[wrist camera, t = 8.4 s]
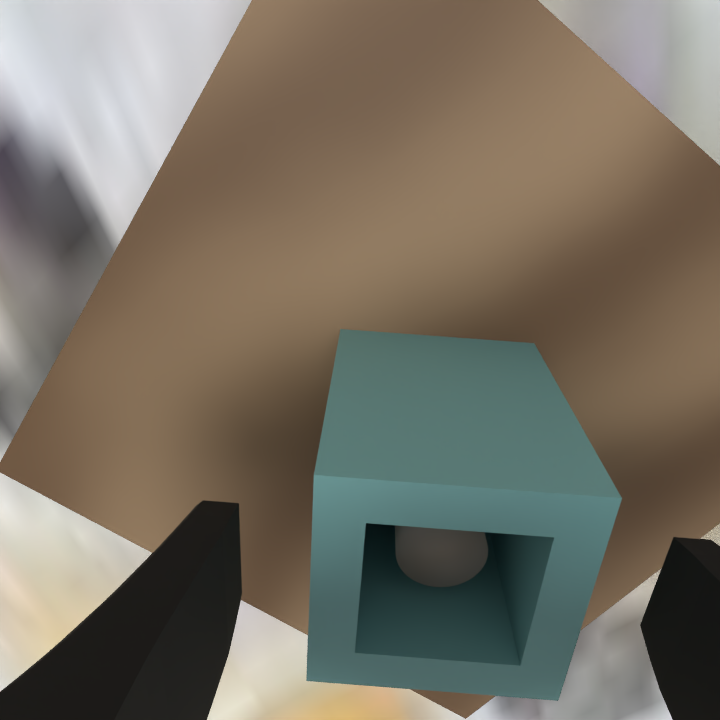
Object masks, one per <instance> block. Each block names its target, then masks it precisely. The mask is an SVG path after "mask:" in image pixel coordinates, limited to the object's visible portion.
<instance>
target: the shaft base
mask: <svg viewBox="0 0 720 720" xmlns="http://www.w3.org/2000/svg"><path fill="white" fill-rule="evenodd" d="M340 329H347V330H360V331H374V332H388V333H401V334H415V335H429V336H442V337H456V338H470V339H483V340H497V341H511V342H524V343H534V344H535V345H536V347H537V349H538V351H539V353H540V354H541V356H542V358H543V360H544V361H545V363H546V365H547V367H548V368H549V370H550V372H551V374H552V376H553V377H554V379H555V381H556V383H557V384H558V386H559V388H560V390H561V391H562V393H563V395H564V397H565V398H566V400H567V402H568V404H569V406H570V407H571V409H572V411H573V413H574V414H575V416H576V418H577V420H578V421H579V423H580V425H581V427H582V429H583V430H584V432H585V434H586V436H587V437H588V439H589V441H590V443H591V444H592V446H593V448H594V450H595V451H596V453H597V455H598V457H599V459H600V460H601V462H602V464H603V466H604V467H605V469H606V471H607V473H608V474H609V476H610V478H611V480H612V481H613V483H614V485H615V487H616V489H617V490H618V492H619V494H620V496H621V497H622V500H621V503H620V506H619V509H618V513H617V516H616V519H615V522H614V525H613V528H612V532H611V535H610V538H609V541H608V544H607V547H606V551H605V554H604V557H603V560H602V563H601V566H600V570H599V573H598V576H597V579H596V582H595V585H594V589H593V592H592V595H591V598H590V601H589V605H588V608H587V611H586V614H585V617H584V620H583V624H582V627H581V630H582V629H583V628H584V627H586V626H587V625H588V624H589V623H591V622H592V621H593V620H595V619H596V618H597V617H598V616H600V615H601V614H602V613H604V612H605V611H606V610H608V609H609V608H610V607H611V606H613V605H614V604H615V603H617V602H618V601H619V600H621V599H622V598H623V597H624V596H626V595H627V594H628V593H630V592H631V591H632V590H634V589H635V588H636V587H637V586H639V585H640V584H641V583H643V582H644V581H645V580H647V579H648V578H649V577H650V576H652V575H653V574H654V573H656V572H657V571H658V570H660V569H661V568H662V566H663V563H664V561H665V558H666V555H667V553H668V550H669V548H670V545H671V542H672V540H673V537H680V538H693V539H700V538H701V537H702V536H704V535H705V534H706V533H708V532H709V531H710V530H711V529H713V528H714V527H715V526H717V525H718V524H719V523H720V166H719V165H718V164H717V163H716V162H715V161H714V160H713V159H712V158H711V157H709V156H708V155H707V154H706V153H705V152H704V151H703V150H702V149H701V148H700V147H698V146H697V145H696V144H695V143H694V142H693V141H692V140H691V139H690V138H689V137H687V136H686V135H685V134H684V133H683V132H682V131H681V130H680V129H679V128H678V127H676V126H675V125H674V124H673V123H672V122H671V121H670V120H669V119H668V118H667V117H665V116H664V115H663V114H662V113H661V112H660V111H659V110H658V109H657V108H656V107H654V106H653V105H652V104H651V103H650V102H649V101H648V100H647V99H646V98H645V97H643V96H642V95H641V94H640V93H639V92H638V91H637V90H636V89H635V88H633V87H632V86H631V85H630V84H629V83H628V82H627V81H626V80H625V79H624V78H622V77H621V76H620V75H619V74H618V73H617V72H616V71H615V70H614V69H613V68H611V67H610V66H609V65H608V64H607V63H606V62H605V61H604V60H603V59H602V58H600V57H599V56H598V55H597V54H596V53H595V52H594V51H593V50H592V49H591V48H589V47H588V46H587V45H586V44H585V43H584V42H583V41H582V40H581V39H580V38H578V37H577V36H576V35H575V34H574V33H573V32H572V31H571V30H570V29H569V28H567V27H566V26H565V25H564V24H563V23H562V22H561V21H560V20H559V19H558V18H556V17H555V16H554V15H553V14H552V13H551V12H550V11H549V10H548V9H547V8H545V7H544V6H543V5H542V4H541V3H540V2H539V1H538V0H252V1H251V3H250V5H249V7H248V9H247V10H246V12H245V14H244V16H243V18H242V20H241V22H240V23H239V25H238V27H237V29H236V31H235V33H234V34H233V36H232V38H231V40H230V42H229V44H228V45H227V47H226V49H225V51H224V53H223V55H222V56H221V58H220V60H219V62H218V64H217V66H216V67H215V69H214V71H213V73H212V75H211V77H210V78H209V80H208V82H207V84H206V86H205V88H204V89H203V91H202V93H201V95H200V97H199V99H198V100H197V102H196V104H195V106H194V108H193V110H192V111H191V113H190V115H189V117H188V119H187V121H186V122H185V124H184V126H183V128H182V130H181V132H180V133H179V135H178V137H177V139H176V141H175V143H174V144H173V146H172V148H171V150H170V152H169V154H168V155H167V157H166V159H165V161H164V163H163V165H162V166H161V168H160V170H159V172H158V174H157V176H156V177H155V179H154V181H153V183H152V185H151V187H150V188H149V190H148V192H147V194H146V196H145V198H144V199H143V201H142V203H141V205H140V207H139V209H138V210H137V212H136V214H135V216H134V218H133V220H132V221H131V223H130V225H129V227H128V229H127V231H126V232H125V234H124V236H123V238H122V240H121V242H120V243H119V245H118V247H117V249H116V251H115V253H114V254H113V256H112V258H111V260H110V262H109V264H108V265H107V267H106V269H105V271H104V273H103V275H102V276H101V278H100V280H99V282H98V284H97V286H96V287H95V289H94V291H93V293H92V295H91V297H90V298H89V300H88V302H87V304H86V306H85V308H84V309H83V311H82V313H81V315H80V317H79V319H78V320H77V322H76V324H75V326H74V328H73V330H72V331H71V333H70V335H69V337H68V339H67V341H66V342H65V344H64V346H63V348H62V350H61V352H60V353H59V355H58V357H57V359H56V361H55V363H54V364H53V366H52V368H51V370H50V372H49V374H48V375H47V377H46V379H45V381H44V383H43V385H42V386H41V388H40V390H39V392H38V394H37V396H36V397H35V399H34V401H33V403H32V405H31V407H30V408H29V410H28V412H27V414H26V416H25V418H24V420H23V421H22V423H21V425H20V427H19V429H18V431H17V432H16V434H15V436H14V438H13V440H12V442H11V443H10V445H9V447H8V449H7V451H6V453H5V454H4V456H3V458H2V460H1V462H0V472H1V473H2V474H4V475H6V476H8V477H10V478H12V479H14V480H16V481H18V482H19V483H21V484H23V485H25V486H27V487H29V488H31V489H33V490H35V491H36V492H38V493H40V494H42V495H44V496H46V497H48V498H50V499H52V500H53V501H55V502H57V503H59V504H61V505H63V506H65V507H67V508H69V509H70V510H72V511H74V512H76V513H78V514H80V515H82V516H84V517H86V518H87V519H89V520H91V521H93V522H95V523H97V524H99V525H101V526H103V527H105V528H106V529H108V530H110V531H112V532H114V533H116V534H118V535H120V536H122V537H123V538H125V539H127V540H129V541H131V542H133V543H135V544H137V545H139V546H140V547H142V548H144V549H146V550H148V551H150V552H152V553H153V552H154V551H155V550H156V549H157V548H158V547H159V546H160V545H161V544H162V543H163V541H164V540H165V539H166V538H167V537H168V536H169V535H170V534H171V533H172V532H173V531H174V530H175V528H176V527H177V526H178V525H179V524H180V523H181V522H182V521H183V520H184V519H185V517H186V516H187V515H188V514H189V513H190V512H191V511H192V510H193V509H194V507H195V506H196V505H197V504H199V503H200V502H201V501H203V500H206V501H219V502H231V503H239V518H240V547H241V577H242V596H241V600H242V601H244V602H246V603H248V604H250V605H252V606H254V607H256V608H258V609H259V610H261V611H263V612H265V613H267V614H269V615H271V616H273V617H275V618H276V619H278V620H280V621H282V622H284V623H286V624H288V625H290V626H292V627H294V628H295V629H297V630H299V631H301V632H303V633H305V634H307V635H308V624H309V596H310V568H311V540H312V512H313V484H314V471H315V466H316V460H317V455H318V449H319V444H320V438H321V433H322V427H323V422H324V417H325V411H326V406H327V400H328V395H329V389H330V384H331V378H332V373H333V367H334V362H335V356H336V351H337V345H338V340H339V335H340ZM395 550H396V559H397V563H398V565H399V567H400V568H401V570H402V571H403V572H404V573H405V574H406V575H407V576H408V577H409V578H411V579H412V580H414V581H416V582H418V583H421V584H423V585H427V586H432V587H449V586H455V585H459V584H461V583H464V582H466V581H468V580H470V579H471V578H473V577H474V576H476V575H477V574H478V573H479V572H480V571H481V569H482V568H483V567H484V565H485V563H486V560H487V557H488V545H487V541H486V536H485V532H476V531H463V530H450V529H437V528H424V527H410V526H397V525H395ZM411 690H413V691H414V692H416V693H418V694H420V695H422V696H424V697H426V698H428V699H430V700H431V701H433V702H435V703H437V704H439V705H441V706H443V707H445V708H447V709H448V710H450V711H452V712H454V713H456V714H458V715H460V716H462V717H464V718H465V719H466V718H467V717H469V716H470V715H471V714H473V713H474V712H475V711H476V710H478V709H479V708H480V707H482V706H483V705H484V704H486V703H487V702H488V701H489V700H491V699H492V698H493V697H495V696H493V695H480V694H468V693H455V692H442V691H430V690H417V689H411Z"/></svg>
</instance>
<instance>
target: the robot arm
mask: <svg viewBox="0 0 720 720" xmlns="http://www.w3.org/2000/svg"><path fill="white" fill-rule="evenodd" d="M241 596H242V577H241V547H240V518H239V503H231V502H219V501H206V500H203V501H201V502H200V503H199V504H197V505H196V506H195V507H194V509H193V510H192V511H191V512H190V513H189V514H188V515H187V516H186V517H185V519H184V520H183V521H182V522H181V523H180V524H179V525H178V526H177V527H176V528H175V530H174V531H173V532H172V533H171V534H170V535H169V536H168V537H167V538H166V539H165V540H164V541H163V543H162V544H161V545H160V546H159V547H158V548H157V549H156V550H155V551H154V552H153V553H152V554H151V555H150V556H149V557H148V558H147V559H146V560H145V561H144V562H143V563H142V564H141V565H140V566H139V567H138V568H137V569H136V570H135V572H134V573H133V574H132V575H131V576H130V577H129V578H128V579H127V580H126V581H125V582H124V583H123V584H122V585H121V586H120V587H119V588H118V589H117V590H116V591H115V592H114V593H113V594H112V595H110V596H109V597H108V598H107V599H106V600H105V601H104V602H103V603H102V604H101V605H100V606H99V607H98V608H97V609H96V610H94V611H93V612H92V613H91V614H90V615H89V616H88V617H87V618H86V619H85V620H84V621H82V622H81V623H80V624H79V625H78V626H77V627H76V628H75V629H74V630H73V631H72V632H70V633H69V634H68V635H67V636H66V637H65V638H64V639H63V640H62V641H61V642H59V643H58V644H57V645H56V646H55V647H54V648H53V649H51V650H50V651H49V652H48V653H47V654H46V655H44V656H43V657H42V658H41V659H40V660H39V661H37V662H36V663H35V664H34V665H33V666H31V667H30V668H29V669H28V670H27V671H25V672H24V673H23V674H22V675H21V676H19V677H18V678H17V679H16V680H14V681H13V682H12V683H11V684H9V685H8V686H7V687H6V688H4V689H3V690H2V691H0V720H207V717H208V714H209V711H210V709H211V706H212V703H213V700H214V697H215V694H216V691H217V688H218V685H219V682H220V679H221V676H222V673H223V670H224V667H225V663H226V660H227V657H228V654H229V650H230V646H231V641H232V637H233V633H234V628H235V624H236V619H237V615H238V610H239V605H240V601H241ZM640 626H641V629H642V633H643V636H644V640H645V643H646V647H647V650H648V654H649V657H650V661H651V664H652V667H653V670H654V673H655V676H656V679H657V682H658V685H659V688H660V691H661V693H662V696H663V698H664V700H665V703H666V705H667V707H668V710H669V712H670V714H671V716H672V719H673V720H720V546H719V545H717V544H716V543H714V542H713V541H712V540H706V539H693V538H680V537H673V540H672V542H671V545H670V548H669V550H668V553H667V555H666V558H665V561H664V563H663V566H662V569H661V571H660V574H659V577H658V579H657V582H656V585H655V587H654V590H653V593H652V595H651V598H650V601H649V603H648V606H647V609H646V611H645V614H644V617H643V619H642V622H641V625H640Z"/></svg>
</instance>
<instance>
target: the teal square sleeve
mask: <svg viewBox="0 0 720 720" xmlns="http://www.w3.org/2000/svg"><path fill="white" fill-rule="evenodd" d="M621 500H622V497H621V496H620V494H619V492H618V490H617V489H616V487H615V485H614V483H613V481H612V480H611V478H610V476H609V474H608V473H607V471H606V469H605V467H604V466H603V464H602V462H601V460H600V459H599V457H598V455H597V453H596V451H595V450H594V448H593V446H592V444H591V443H590V441H589V439H588V437H587V436H586V434H585V432H584V430H583V429H582V427H581V425H580V423H579V421H578V420H577V418H576V416H575V414H574V413H573V411H572V409H571V407H570V406H569V404H568V402H567V400H566V398H565V397H564V395H563V393H562V391H561V390H560V388H559V386H558V384H557V383H556V381H555V379H554V377H553V376H552V374H551V372H550V370H549V368H548V367H547V365H546V363H545V361H544V360H543V358H542V356H541V354H540V353H539V351H538V349H537V347H536V345H535V344H534V343H524V342H511V341H497V340H483V339H470V338H456V337H442V336H429V335H415V334H401V333H388V332H374V331H360V330H347V329H340V335H339V340H338V345H337V351H336V356H335V362H334V367H333V373H332V378H331V384H330V389H329V395H328V400H327V406H326V411H325V417H324V422H323V427H322V433H321V438H320V444H319V449H318V455H317V460H316V466H315V471H314V484H313V512H312V540H311V568H310V596H309V624H308V652H307V681H315V682H328V683H341V684H353V685H366V686H379V687H391V688H404V689H417V690H430V691H442V692H455V693H468V694H480V695H493V696H506V697H519V698H531V699H544V700H557V701H558V700H559V696H560V693H561V690H562V687H563V684H564V681H565V677H566V674H567V671H568V668H569V665H570V662H571V658H572V655H573V652H574V649H575V646H576V643H577V639H578V636H579V633H580V630H581V627H582V624H583V620H584V617H585V614H586V611H587V608H588V605H589V601H590V598H591V595H592V592H593V589H594V585H595V582H596V579H597V576H598V573H599V570H600V566H601V563H602V560H603V557H604V554H605V551H606V547H607V544H608V541H609V538H610V535H611V532H612V528H613V525H614V522H615V519H616V516H617V513H618V509H619V506H620V503H621ZM395 525H397V526H410V527H424V528H437V529H450V530H463V531H476V532H485V536H486V541H487V545H488V557H487V560H486V563H485V565H484V567H483V568H482V569H481V571H480V572H479V573H478V574H477V575H476V576H474V577H473V578H471V579H470V580H468V581H466V582H464V583H461V584H459V585H455V586H449V587H432V586H427V585H423V584H421V583H418V582H416V581H414V580H412V579H411V578H409V577H408V576H407V575H406V574H405V573H404V572H403V571H402V570H401V568H400V567H399V565H398V563H397V559H396V550H395Z"/></svg>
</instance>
